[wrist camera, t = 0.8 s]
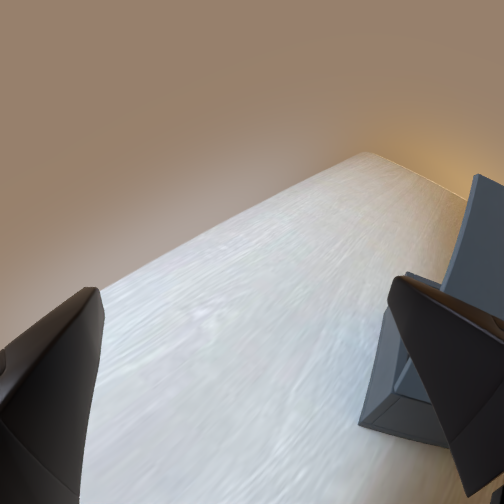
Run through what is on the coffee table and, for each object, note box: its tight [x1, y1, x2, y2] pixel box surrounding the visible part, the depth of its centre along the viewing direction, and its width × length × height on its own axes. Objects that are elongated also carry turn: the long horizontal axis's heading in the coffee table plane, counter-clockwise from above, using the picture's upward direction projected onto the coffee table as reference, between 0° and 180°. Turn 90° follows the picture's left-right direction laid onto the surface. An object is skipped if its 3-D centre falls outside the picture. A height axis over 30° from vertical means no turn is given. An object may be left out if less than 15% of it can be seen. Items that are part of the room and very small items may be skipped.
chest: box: [358, 271, 449, 448], centre depth 22 cm, size 13×11×6 cm
